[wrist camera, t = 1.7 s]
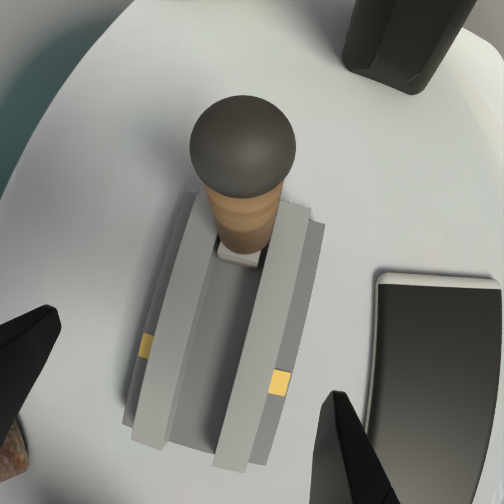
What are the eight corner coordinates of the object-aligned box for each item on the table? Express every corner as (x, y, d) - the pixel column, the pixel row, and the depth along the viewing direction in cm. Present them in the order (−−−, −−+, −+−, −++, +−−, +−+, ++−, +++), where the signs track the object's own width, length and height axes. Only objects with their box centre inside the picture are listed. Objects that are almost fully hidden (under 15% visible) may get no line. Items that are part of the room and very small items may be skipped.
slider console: (264, 455, 19) (267, 477, 16) (131, 417, 20) (110, 431, 16) (319, 232, 24) (332, 213, 20) (191, 202, 24) (181, 178, 20)
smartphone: (492, 282, 24) (503, 278, 22) (451, 534, 17) (459, 541, 15) (371, 274, 24) (380, 270, 22) (331, 563, 17) (335, 573, 15)
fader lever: (265, 272, 21) (290, 178, 8) (211, 259, 21) (163, 152, 8) (278, 221, 22) (311, 86, 9) (226, 209, 22) (203, 67, 9)
